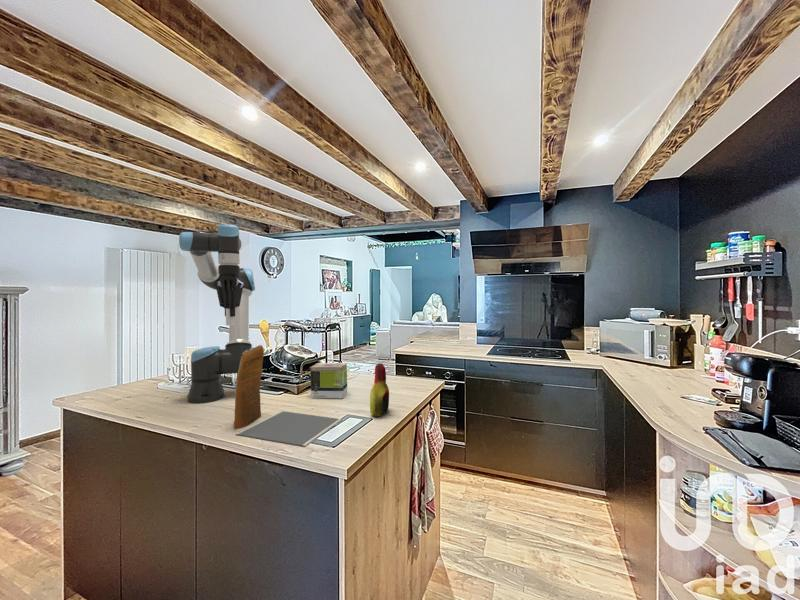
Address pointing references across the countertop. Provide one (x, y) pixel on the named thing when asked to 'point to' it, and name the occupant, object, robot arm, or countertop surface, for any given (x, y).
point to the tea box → (329, 380)
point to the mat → (290, 428)
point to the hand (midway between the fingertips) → (230, 324)
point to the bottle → (379, 392)
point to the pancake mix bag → (248, 387)
